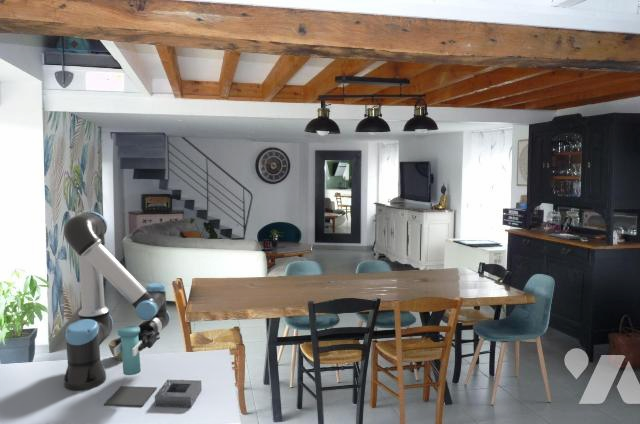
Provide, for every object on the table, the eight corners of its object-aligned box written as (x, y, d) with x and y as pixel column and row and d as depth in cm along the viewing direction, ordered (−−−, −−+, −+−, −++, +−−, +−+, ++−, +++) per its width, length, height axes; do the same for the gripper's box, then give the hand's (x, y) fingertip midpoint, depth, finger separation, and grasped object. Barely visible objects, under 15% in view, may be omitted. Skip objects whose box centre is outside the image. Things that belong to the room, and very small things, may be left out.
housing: (155, 406, 195) (154, 395, 194) (167, 389, 208) (167, 379, 207) (191, 407, 194) (190, 396, 193) (201, 390, 207) (201, 380, 206)
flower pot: (125, 363, 232) (125, 346, 231) (104, 361, 234) (103, 345, 233) (138, 353, 242) (137, 338, 241) (117, 352, 244) (116, 336, 243)
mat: (104, 405, 196) (103, 403, 195) (120, 387, 209) (120, 386, 209) (142, 406, 195) (142, 405, 194) (156, 388, 208) (156, 387, 208)
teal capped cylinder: (117, 376, 197) (114, 333, 195) (126, 367, 205) (123, 326, 202) (138, 376, 197) (135, 333, 194) (146, 367, 204) (143, 326, 202)
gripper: (172, 338, 217) (151, 362, 194) (126, 338, 218) (99, 362, 195) (171, 320, 216) (149, 342, 193) (125, 320, 217) (97, 342, 194)
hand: (124, 352), depth 194 cm, fingers closed on teal capped cylinder, 6 cm apart
